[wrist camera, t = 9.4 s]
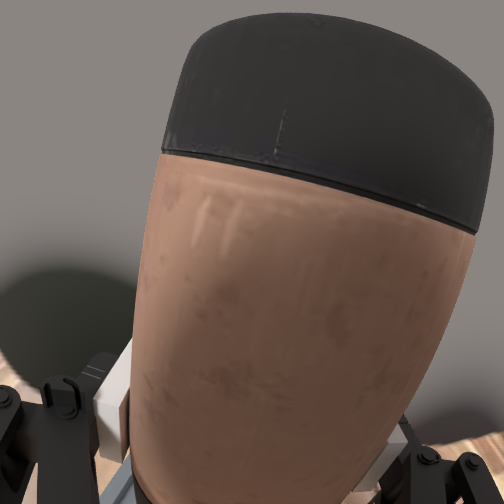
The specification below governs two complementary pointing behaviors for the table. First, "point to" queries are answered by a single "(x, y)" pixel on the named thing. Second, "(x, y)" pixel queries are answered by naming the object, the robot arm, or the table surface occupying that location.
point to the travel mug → (298, 256)
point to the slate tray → (120, 486)
